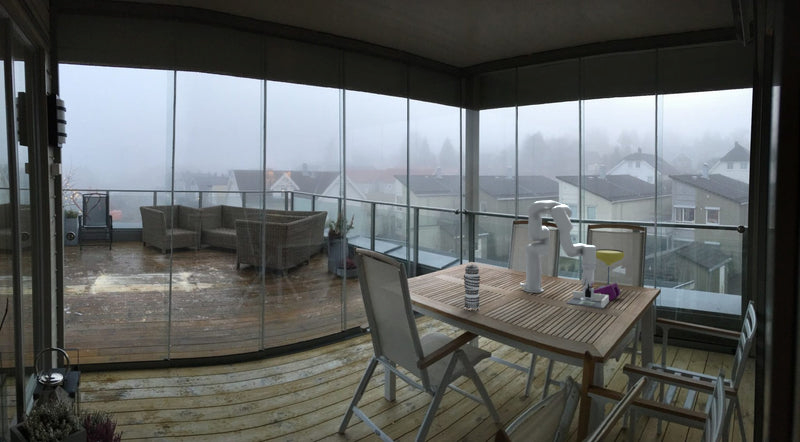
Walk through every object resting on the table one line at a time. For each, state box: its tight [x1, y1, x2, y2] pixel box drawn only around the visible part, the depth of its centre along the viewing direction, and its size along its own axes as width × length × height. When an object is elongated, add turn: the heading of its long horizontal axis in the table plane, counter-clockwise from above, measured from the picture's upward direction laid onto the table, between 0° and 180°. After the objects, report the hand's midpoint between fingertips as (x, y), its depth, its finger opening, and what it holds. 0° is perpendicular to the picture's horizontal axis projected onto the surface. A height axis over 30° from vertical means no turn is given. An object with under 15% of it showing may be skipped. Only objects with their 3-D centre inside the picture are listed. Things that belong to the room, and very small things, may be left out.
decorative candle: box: [463, 264, 481, 309], centre depth 262 cm, size 9×9×25 cm
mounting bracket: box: [594, 282, 621, 302], centre depth 284 cm, size 10×8×18 cm
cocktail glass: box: [596, 248, 625, 288], centre depth 307 cm, size 18×18×25 cm
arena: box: [566, 290, 610, 310], centre depth 271 cm, size 20×15×5 cm
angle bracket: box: [580, 286, 595, 302], centre depth 269 cm, size 6×6×7 cm
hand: (588, 297), depth 271 cm, fingers closed on angle bracket, 1 cm apart
